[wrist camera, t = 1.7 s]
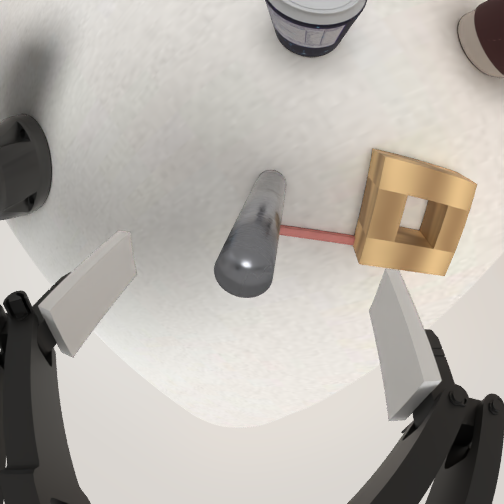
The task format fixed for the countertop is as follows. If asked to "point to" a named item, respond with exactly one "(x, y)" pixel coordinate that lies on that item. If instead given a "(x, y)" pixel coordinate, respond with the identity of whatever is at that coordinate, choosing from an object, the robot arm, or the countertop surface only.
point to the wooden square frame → (391, 209)
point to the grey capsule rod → (253, 240)
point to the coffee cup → (484, 37)
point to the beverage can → (313, 23)
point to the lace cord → (317, 235)
